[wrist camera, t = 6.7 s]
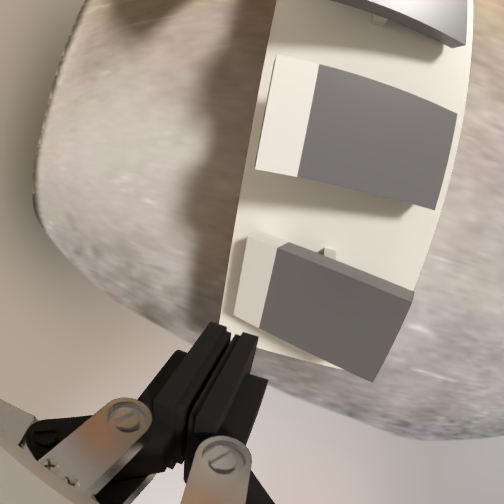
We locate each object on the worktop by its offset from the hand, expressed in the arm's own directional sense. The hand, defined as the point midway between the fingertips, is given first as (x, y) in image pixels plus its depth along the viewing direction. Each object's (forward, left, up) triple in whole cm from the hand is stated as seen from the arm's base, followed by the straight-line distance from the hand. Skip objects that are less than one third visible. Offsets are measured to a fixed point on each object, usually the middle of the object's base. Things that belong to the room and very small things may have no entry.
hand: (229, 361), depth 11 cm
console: (-3, -8, -13) cm, 16 cm away
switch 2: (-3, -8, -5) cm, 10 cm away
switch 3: (-3, 0, -5) cm, 6 cm away
